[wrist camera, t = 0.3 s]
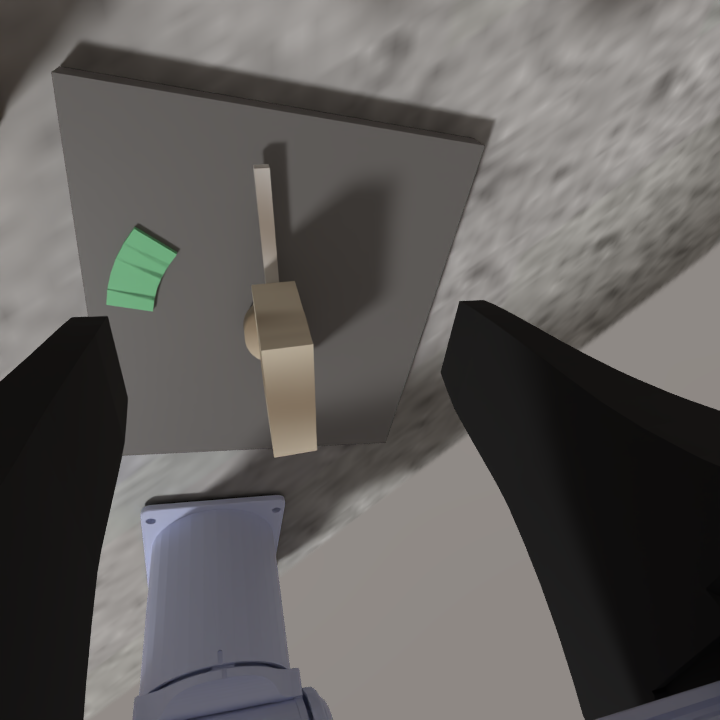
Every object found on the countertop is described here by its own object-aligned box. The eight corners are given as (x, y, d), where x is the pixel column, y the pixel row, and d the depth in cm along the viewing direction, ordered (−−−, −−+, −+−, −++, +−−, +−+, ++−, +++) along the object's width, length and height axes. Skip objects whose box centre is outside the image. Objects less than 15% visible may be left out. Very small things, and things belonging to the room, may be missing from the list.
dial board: (380, 429, 28) (386, 445, 27) (112, 440, 24) (108, 459, 23) (473, 138, 19) (487, 147, 18) (59, 66, 14) (49, 73, 13)
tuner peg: (308, 365, 22) (330, 448, 18) (250, 373, 22) (260, 460, 18) (299, 160, 16) (327, 219, 13) (220, 164, 16) (225, 226, 12)
